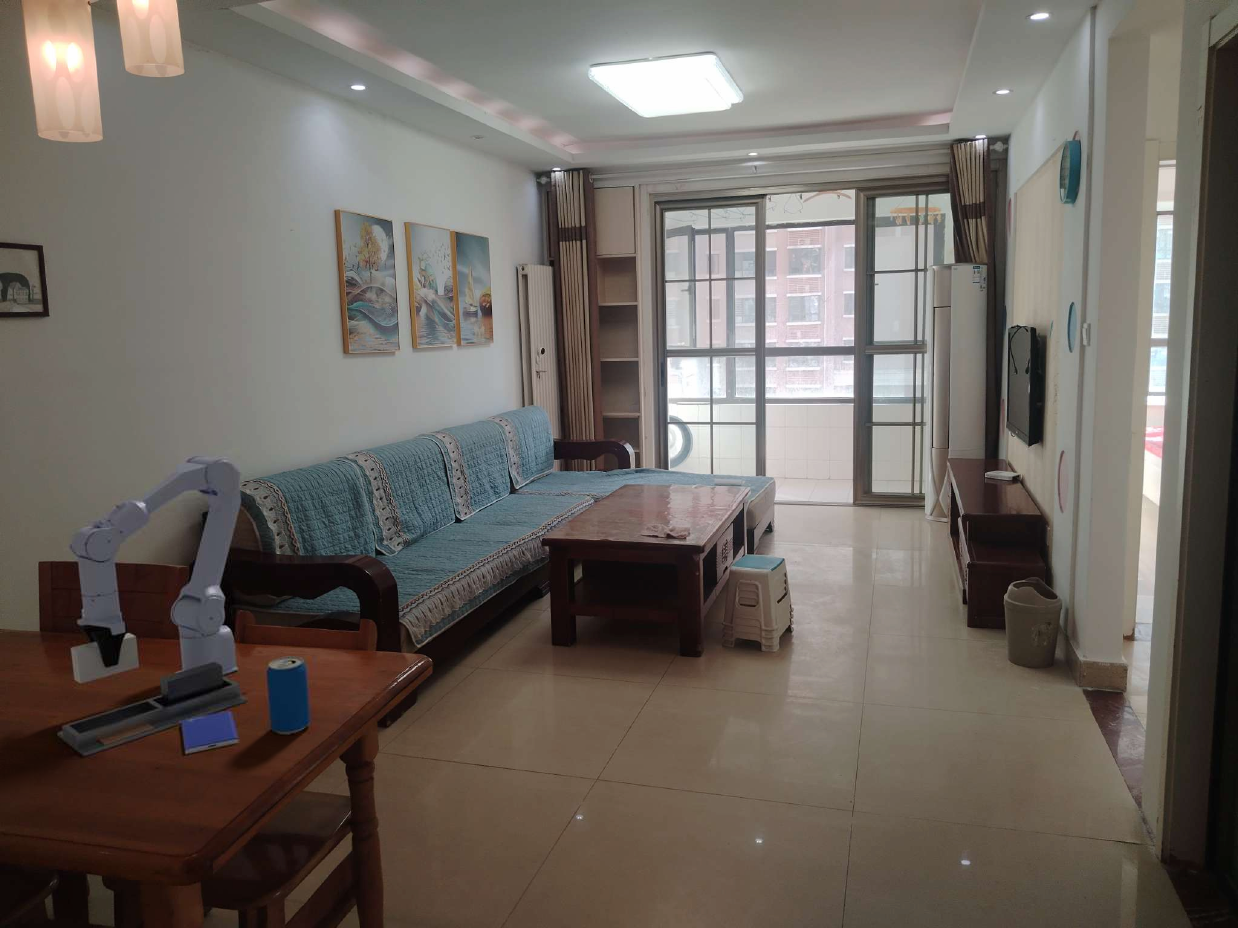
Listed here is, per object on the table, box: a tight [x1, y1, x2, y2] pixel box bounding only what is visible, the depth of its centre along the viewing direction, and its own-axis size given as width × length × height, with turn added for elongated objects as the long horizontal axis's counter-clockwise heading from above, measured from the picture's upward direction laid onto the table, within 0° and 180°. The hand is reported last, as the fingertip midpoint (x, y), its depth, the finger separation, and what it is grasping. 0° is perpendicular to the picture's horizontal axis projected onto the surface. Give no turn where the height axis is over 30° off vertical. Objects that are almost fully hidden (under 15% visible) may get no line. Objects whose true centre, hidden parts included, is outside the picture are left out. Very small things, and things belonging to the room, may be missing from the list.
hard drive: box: [180, 710, 240, 755], centre depth 156 cm, size 2×8×12 cm
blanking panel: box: [70, 632, 140, 684], centre depth 167 cm, size 10×3×6 cm, turn 140°
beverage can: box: [266, 656, 311, 735], centre depth 157 cm, size 6×6×12 cm
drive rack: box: [57, 662, 249, 757], centre depth 162 cm, size 28×12×7 cm, turn 140°
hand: (107, 663), depth 167 cm, fingers closed on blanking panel, 3 cm apart
